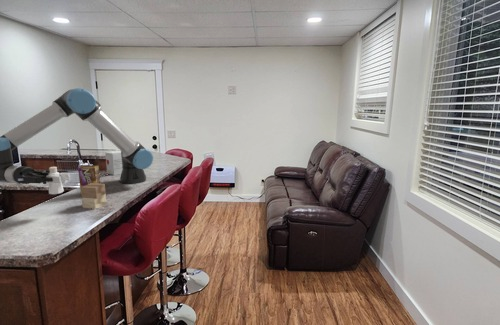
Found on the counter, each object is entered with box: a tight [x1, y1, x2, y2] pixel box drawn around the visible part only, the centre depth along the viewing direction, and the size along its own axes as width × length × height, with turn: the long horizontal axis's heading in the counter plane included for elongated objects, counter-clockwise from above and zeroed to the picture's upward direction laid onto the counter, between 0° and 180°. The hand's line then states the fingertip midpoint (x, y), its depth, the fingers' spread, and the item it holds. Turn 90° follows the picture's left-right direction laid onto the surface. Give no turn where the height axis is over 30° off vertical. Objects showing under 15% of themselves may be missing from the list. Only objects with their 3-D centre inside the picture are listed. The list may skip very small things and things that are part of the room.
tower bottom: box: [81, 194, 107, 210], centre depth 135 cm, size 7×7×5 cm
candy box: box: [77, 165, 101, 196], centre depth 151 cm, size 9×4×15 cm, turn 89°
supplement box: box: [104, 150, 122, 176], centre depth 197 cm, size 9×9×15 cm
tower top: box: [80, 183, 107, 199], centre depth 134 cm, size 7×7×5 cm
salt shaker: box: [48, 166, 65, 195], centre depth 121 cm, size 5×5×11 cm
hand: (64, 178), depth 120 cm, fingers closed on salt shaker, 4 cm apart
